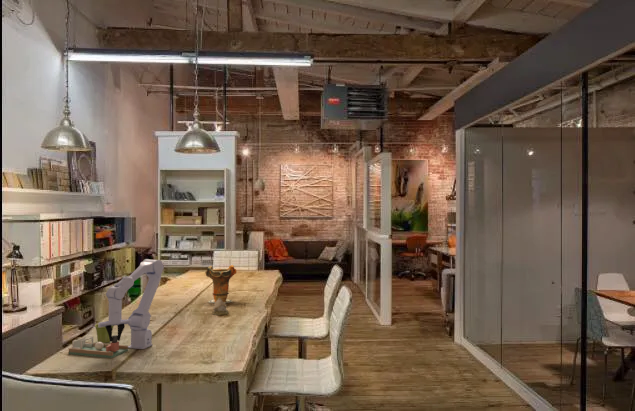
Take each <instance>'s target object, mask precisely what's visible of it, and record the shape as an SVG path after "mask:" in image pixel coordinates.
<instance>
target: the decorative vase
mask: <svg viewBox="0 0 635 411" xmlns="http://www.w3.org/2000/svg"><path fill="white" fill-rule="evenodd" d="M212 267H213V266H212V265H210V266H208V267H207V270H206V271H205V276H206V277H207V278H210V279H211V280H212V283H213V284H212V286H213V287H212V288H213V290H212V291H213V293H212V296H213V299H211V300H208V303H211V304H215V302H216V301H217V300H218V299H219V298H221V300H222V301H223V302H224V303H225V304H229V303H233V300H232V299H228V295H229V297H230V296H231V295H230V292H229V289H230V288H229V283H230V280H231V278H233V277H234V276H235V275H236V274H237V268H235V266H234V265H233V264H231V265H229V266H228V268H212Z"/></svg>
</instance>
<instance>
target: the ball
mask: <svg viewBox="0 0 635 411" xmlns="http://www.w3.org/2000/svg"><path fill="white" fill-rule="evenodd" d="M95 343H96V344H95V349H96V350H102V349H103V347H104V344H105V343H102V342H98V341H97V342H95Z"/></svg>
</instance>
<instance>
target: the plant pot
mask: <svg viewBox="0 0 635 411" xmlns="http://www.w3.org/2000/svg"><path fill="white" fill-rule="evenodd" d="M114 327H115V326H112V331H113V329H114ZM94 328H95V330H96V336H97V337H96V338H97V342H102V343H103V344H109V343H111V342H110V339H109V335H108V332H107V330H106V328H105V327H98V323H97V324H95V325H94Z"/></svg>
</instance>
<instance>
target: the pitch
mask: <svg viewBox="0 0 635 411" xmlns="http://www.w3.org/2000/svg"><path fill="white" fill-rule="evenodd" d="M85 343H88V344H91V341H90V342H89V341H85ZM96 343H97V342H93V347H82V349H74V348H71V347H70V348H68V355H76V356H85V357H86V356H87V357H95V358H96V357H99V358H109V359H113V358H115V357H117V356H119V355H122V354H125V353H126V352H128V351H129V348H128V346H129V345H125V344H119V350H118V351H115V352H112V351H109V352H107V351H106V346H108V345H110V343H103V344H104V347H103V349H102V350H96V349H95V344H96Z"/></svg>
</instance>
